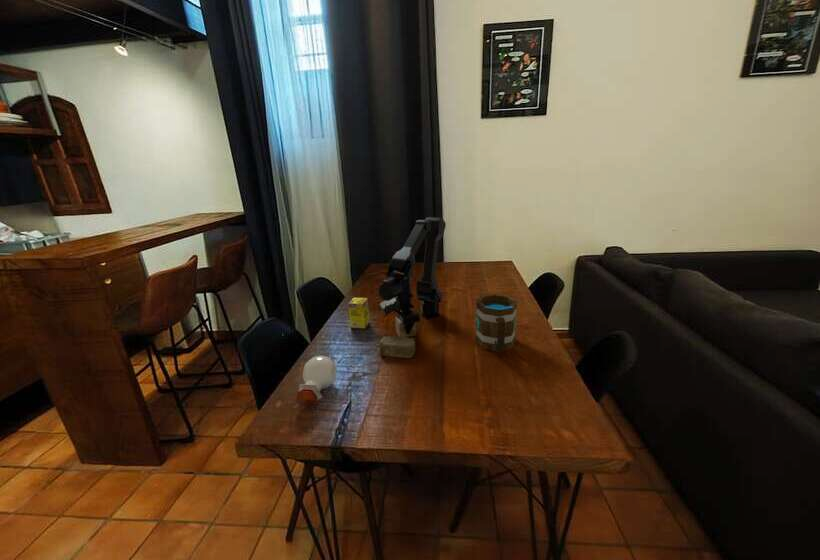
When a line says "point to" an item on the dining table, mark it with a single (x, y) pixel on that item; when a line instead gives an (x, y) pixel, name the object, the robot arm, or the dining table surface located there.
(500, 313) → the mug
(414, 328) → the beige cube
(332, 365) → the potion bottle
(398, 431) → the dining table surface
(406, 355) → the stone block
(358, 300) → the supplement box
